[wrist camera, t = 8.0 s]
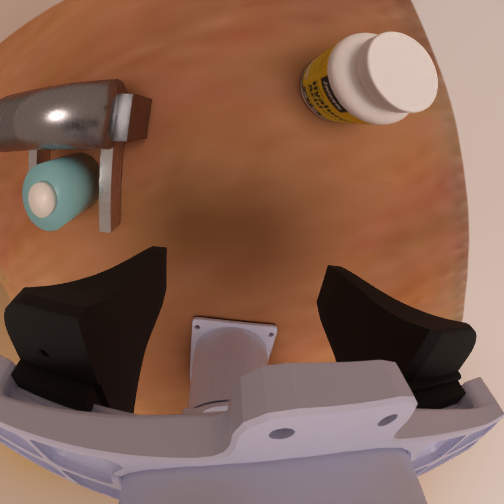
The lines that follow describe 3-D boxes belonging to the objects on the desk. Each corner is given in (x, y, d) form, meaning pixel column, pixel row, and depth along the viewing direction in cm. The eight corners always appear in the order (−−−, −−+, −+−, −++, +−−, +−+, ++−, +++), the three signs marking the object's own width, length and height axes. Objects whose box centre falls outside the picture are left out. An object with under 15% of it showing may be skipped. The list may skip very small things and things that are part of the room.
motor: (140, 226, 21) (109, 263, 15) (30, 213, 19) (-13, 240, 13) (153, 88, 16) (120, 73, 11) (33, 97, 15) (-16, 98, 9)
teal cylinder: (103, 209, 20) (70, 236, 15) (59, 208, 20) (22, 232, 15) (102, 151, 18) (64, 163, 13) (56, 154, 18) (15, 167, 12)
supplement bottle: (283, 92, 17) (327, 63, 8) (325, 44, 16) (388, -3, 7) (340, 137, 19) (416, 151, 10) (377, 90, 17) (462, 80, 8)
